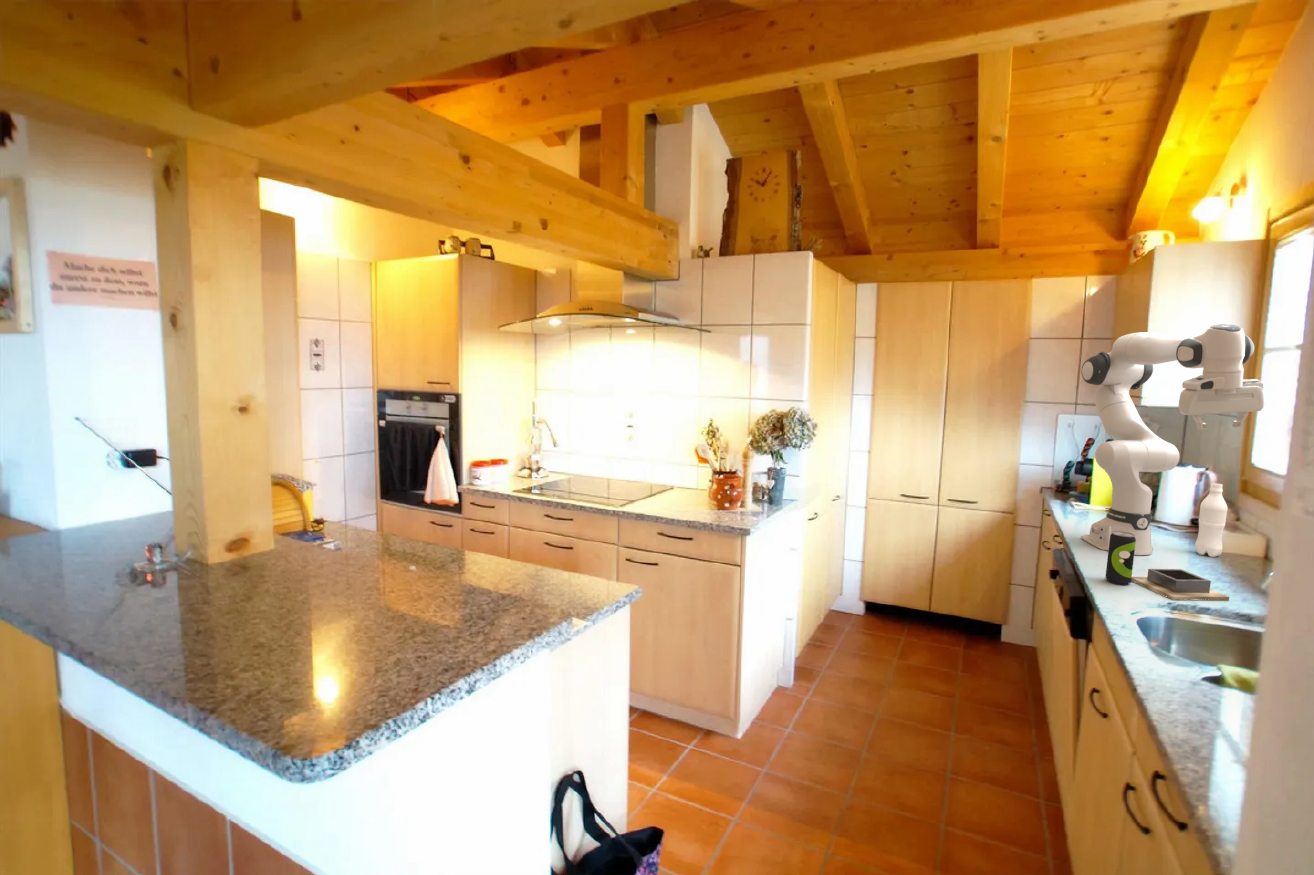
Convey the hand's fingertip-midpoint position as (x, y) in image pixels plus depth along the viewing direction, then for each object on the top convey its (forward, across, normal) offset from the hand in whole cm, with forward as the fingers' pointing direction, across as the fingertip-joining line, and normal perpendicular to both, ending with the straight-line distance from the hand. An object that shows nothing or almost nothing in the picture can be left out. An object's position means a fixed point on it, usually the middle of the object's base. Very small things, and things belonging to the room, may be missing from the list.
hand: (1219, 428), depth 185 cm
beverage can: (+44, +30, +8) cm, 54 cm away
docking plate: (+45, +16, +12) cm, 49 cm away
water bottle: (+51, -18, -29) cm, 61 cm away
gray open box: (+45, +16, +12) cm, 49 cm away
